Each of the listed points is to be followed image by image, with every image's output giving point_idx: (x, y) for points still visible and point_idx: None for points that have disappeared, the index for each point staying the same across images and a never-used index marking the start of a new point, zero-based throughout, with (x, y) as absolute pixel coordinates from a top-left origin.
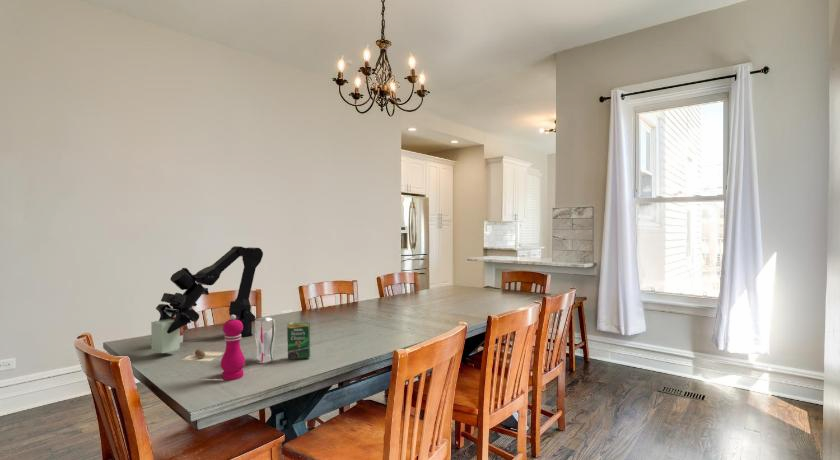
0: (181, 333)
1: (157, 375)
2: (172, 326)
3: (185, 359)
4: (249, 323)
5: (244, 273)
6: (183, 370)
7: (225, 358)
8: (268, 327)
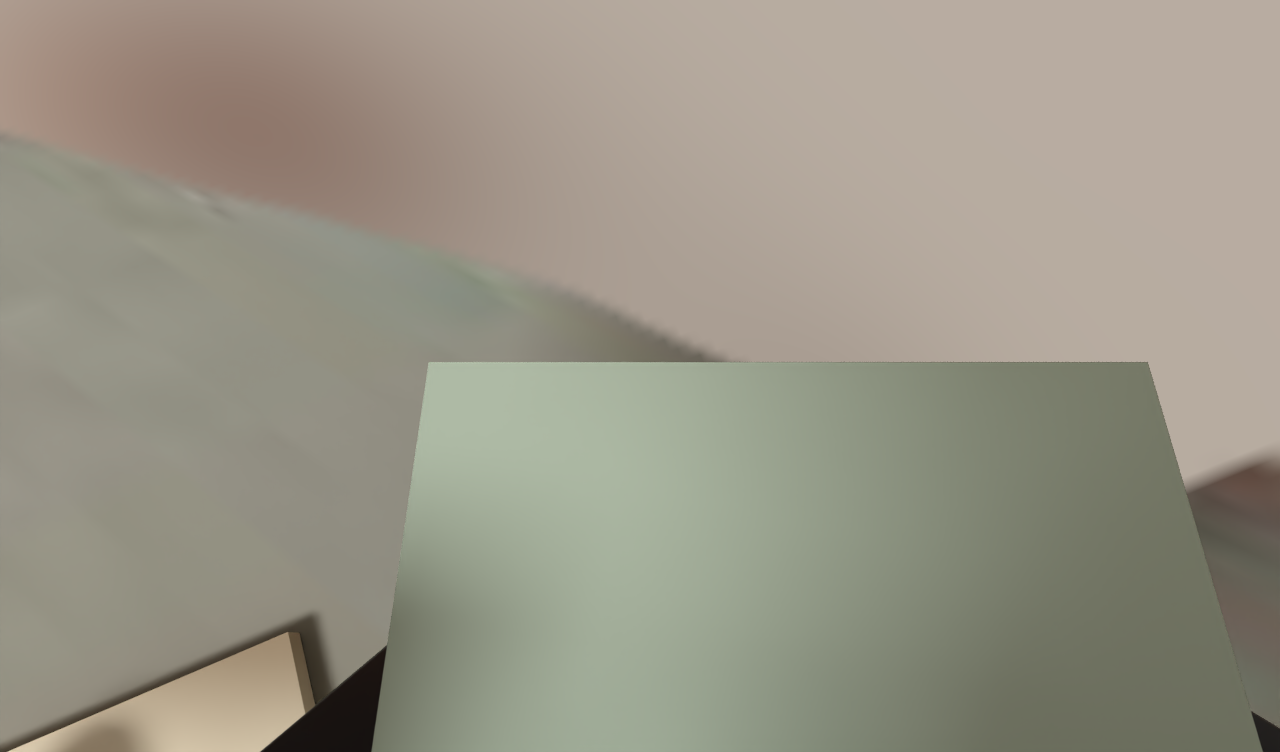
0: None
1: (179, 241)
2: (319, 716)
3: (238, 690)
4: None
5: None
6: (20, 442)
7: None
8: None
